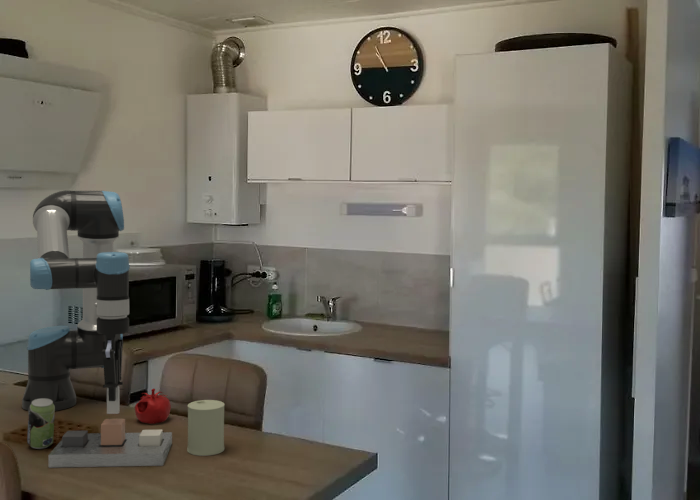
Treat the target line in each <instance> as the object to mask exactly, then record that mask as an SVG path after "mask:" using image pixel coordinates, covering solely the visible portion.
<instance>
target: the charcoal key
mask: <svg viewBox="0 0 700 500" xmlns="http://www.w3.org/2000/svg"><path fill="white" fill-rule="evenodd" d="M88 432H89V431H88V430H66V432H65V433H64V434H63V436H62V438H61V440H62V447H85V446H86V444H87V443H88Z"/></svg>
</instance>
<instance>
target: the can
mask: <svg viewBox="0 0 700 500" xmlns="http://www.w3.org/2000/svg"><path fill="white" fill-rule="evenodd" d="M225 405H226V404H225V403H224V401H223V402H222V401H221V400H216V399H203V400H202V399H201V400H200V399H199V400H195V401H192V402H189V403H188V404H187V449H186V450H187V451H186V452H187V454H188V453H189V454H190V455H193V456H200V457H205V456H206V457H207V456H215V455H218V454H221V453H222V452H224V451H225Z"/></svg>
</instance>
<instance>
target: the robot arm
mask: <svg viewBox="0 0 700 500" xmlns="http://www.w3.org/2000/svg"><path fill="white" fill-rule="evenodd" d="M32 224H33V227H34V229H35V231H36V234H37V235H36V239H37V258H33V259H31V260H30V262H29V279H30V281H29V282H30V283H29V284H30V287H31V289H34V290H46V291H49V290H67V289H69V290H71V289H82V319H81V320H80V321H79V322H78V323H77V326H76V327H77V329H76V330H71V328H70V326H69V325H54V326H53V325H52V326H47V327H42V328H39V329H36V330H34V331H32V332H30V334H29V335H28V337H27V338H28V339H27V348H26V350H27V352H28V353H27V358H28V359H27V363H28V364H27V371H28V372H27V374H28V375H27V376H28V377H27V378H28V379H27V384H26V387H25V390H24V394H23V396H22V399H21V408H22V409H23V410H25V411H27V412H29V406H30V405H31V404H32V401H33V400H35V399H40V398H46V399H50V400H52V401H53V404H54V406H55V411H61V410H66V409H69V408H72V407H74V406H76V404H77V395H76V391H75V389H74V386H73V383H72V381H71V370H81V369H82V370H83V369H84V370H85V369H97V368H101V369H103V375H104V376H103V377H104V384H103V385H102V386H103V388H105V389H106V414H107V415H113V414H114V415H116V414H120V402H121V401H120V398H121V397H120V396H121V395H120V394H121V393H120V386H123V385H124V384H123V383H124V382H123V381H122V368H123V366H122V364H123V348H124V347H123V346H124V339H123V337H124V334H127V333H128V332H129V331H130V318H129V315H130V294H129V293H130V292H129V290H130V285H129V284H130V283H129V282H130V269H131V267H130V261H129V259H130V258H129V255H128V253H126V252H122V251H114V242H115V241H116V240H117V239H118V238H119V232H122V231H124V230H125V219H124V211H123V205H122V201H121V196H120V195H119V193H117V192H115V191H107V190H69V189H68V190H61V191H60V190H59V191H57V192H53V193H51V194H49V195H48V196H46V197H45V198H43V199H42V200H41V201H40V202H39V203H38V205H36V207H35V209H34V211H33V213H32ZM68 231H73V232H74V231H77V238H78V239H80V240H81V241H82V258H81V257H74V258H73V257H71V258H70V250H69V248H70V247H69V240H68Z"/></svg>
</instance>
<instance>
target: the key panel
mask: <svg viewBox="0 0 700 500" xmlns="http://www.w3.org/2000/svg"><path fill="white" fill-rule="evenodd" d="M140 434H141V432H125V440H124V442H123V443H122V445H101V432H94V433H93V432H91V433H88V443H87V444H86V446H85V447H62V439H61V440H60V441H58V443H57V445H56V446H55V447H54V448H53V449H52V450H51V451H50V452H49V454H48V468H49V469H51V468H91V467H92V468H94V467H96V468H97V467H98V468H99V467H101V468H102V467H105V468H106V467H107V468H108V467H153V466H155V467H158V466H159V467H162V466H164V465H165V462H166V460H167V457H168V454H169V452H170V450H171V448H172V445H173V432H171V431H169V432H167V431H166V432H165V431H164V432H163V431H162V445H161V446H139V435H140Z"/></svg>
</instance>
